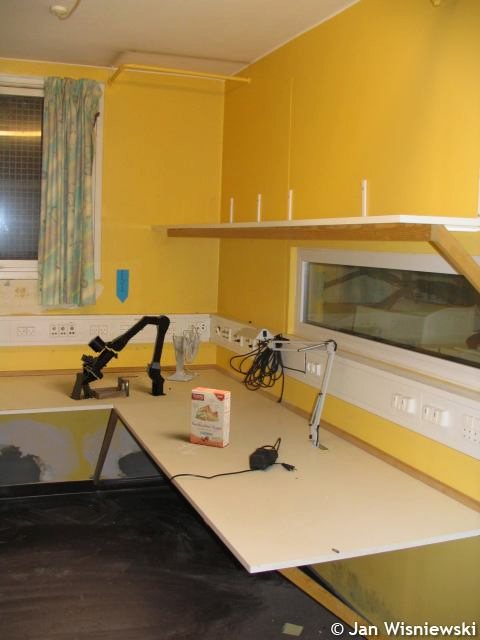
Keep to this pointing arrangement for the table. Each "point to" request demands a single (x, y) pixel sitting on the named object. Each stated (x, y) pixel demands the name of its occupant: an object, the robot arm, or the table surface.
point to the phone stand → (78, 388)
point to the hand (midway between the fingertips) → (80, 383)
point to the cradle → (112, 390)
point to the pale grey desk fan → (181, 346)
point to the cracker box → (210, 417)
